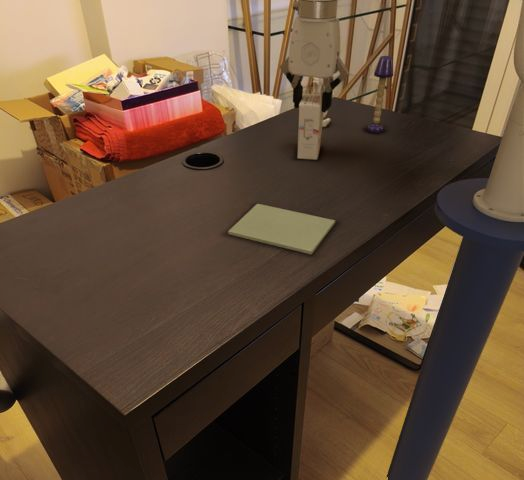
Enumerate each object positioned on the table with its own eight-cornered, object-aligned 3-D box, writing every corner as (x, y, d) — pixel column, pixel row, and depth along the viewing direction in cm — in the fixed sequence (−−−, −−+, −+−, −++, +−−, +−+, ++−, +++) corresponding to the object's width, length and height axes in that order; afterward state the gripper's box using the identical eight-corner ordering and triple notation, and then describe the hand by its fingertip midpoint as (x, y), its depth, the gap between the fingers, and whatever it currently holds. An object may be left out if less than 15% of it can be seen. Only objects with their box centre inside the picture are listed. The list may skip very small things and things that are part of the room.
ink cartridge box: (300, 145, 117) (304, 78, 107) (320, 147, 116) (326, 79, 106) (296, 159, 111) (299, 88, 101) (317, 160, 110) (322, 90, 100)
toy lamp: (363, 127, 126) (373, 55, 115) (379, 126, 127) (391, 54, 115) (370, 134, 123) (381, 59, 111) (387, 132, 123) (399, 58, 112)
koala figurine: (319, 132, 123) (323, 80, 115) (297, 127, 127) (300, 76, 118) (336, 123, 128) (341, 73, 120) (315, 118, 131) (319, 69, 123)
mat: (335, 223, 88) (335, 220, 88) (311, 254, 80) (311, 251, 80) (257, 206, 93) (257, 203, 93) (228, 234, 85) (227, 231, 85)
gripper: (270, 10, 95) (269, 108, 107) (353, 16, 89) (343, 118, 101) (285, 5, 100) (283, 99, 112) (365, 10, 94) (353, 108, 106)
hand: (311, 107), depth 107 cm, fingers closed on ink cartridge box, 5 cm apart
